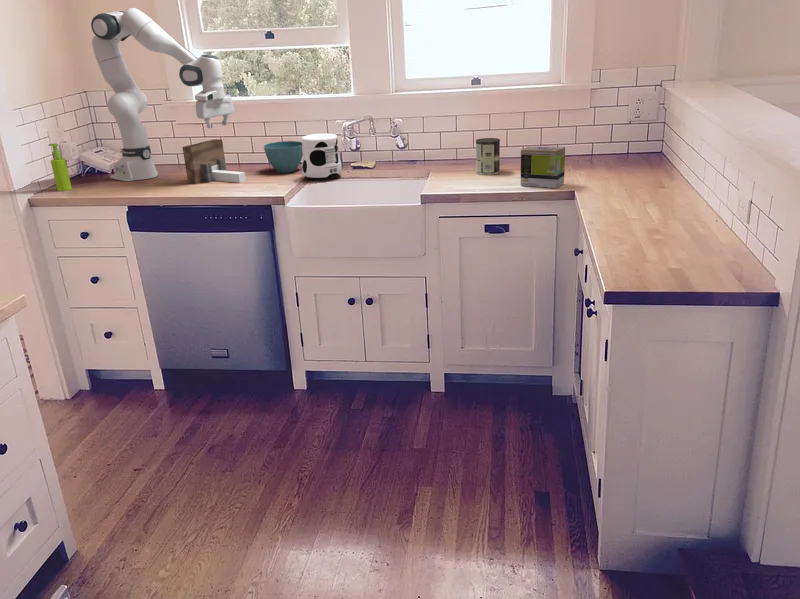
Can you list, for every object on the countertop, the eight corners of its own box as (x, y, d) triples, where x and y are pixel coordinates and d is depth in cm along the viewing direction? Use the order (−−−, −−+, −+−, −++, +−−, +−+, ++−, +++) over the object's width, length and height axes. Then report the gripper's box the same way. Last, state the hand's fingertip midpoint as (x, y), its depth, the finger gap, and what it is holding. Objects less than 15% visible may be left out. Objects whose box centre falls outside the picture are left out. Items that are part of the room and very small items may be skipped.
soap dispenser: (66, 187, 314) (56, 142, 307) (74, 188, 310) (64, 143, 302) (53, 189, 310) (43, 144, 302) (61, 191, 306) (50, 145, 298)
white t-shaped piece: (207, 181, 313) (205, 168, 310) (219, 177, 319) (217, 164, 317) (237, 184, 305) (235, 170, 303) (248, 180, 311) (246, 166, 309)
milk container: (309, 173, 318) (305, 133, 311) (346, 173, 315) (343, 132, 308) (298, 182, 303) (293, 140, 296) (336, 182, 299) (333, 139, 293)
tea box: (564, 183, 278) (566, 146, 273) (556, 189, 271) (557, 151, 265) (528, 180, 286) (529, 144, 280) (519, 186, 278) (520, 148, 272)
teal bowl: (314, 168, 327) (311, 142, 323) (286, 176, 314) (283, 149, 309) (286, 165, 338) (284, 139, 333) (258, 172, 324) (255, 146, 320)
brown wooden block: (188, 183, 310) (182, 147, 304) (218, 173, 326) (213, 139, 320) (202, 184, 306) (196, 147, 300) (232, 175, 322) (227, 139, 316)
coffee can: (492, 169, 309) (492, 136, 304) (504, 173, 301) (504, 140, 295) (471, 171, 306) (471, 139, 301) (482, 176, 297) (482, 142, 292)
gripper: (224, 91, 313) (228, 122, 319) (191, 96, 297) (195, 129, 302) (235, 92, 310) (238, 123, 316) (202, 97, 294) (206, 130, 299)
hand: (217, 126), depth 309 cm, fingers open, 8 cm apart
